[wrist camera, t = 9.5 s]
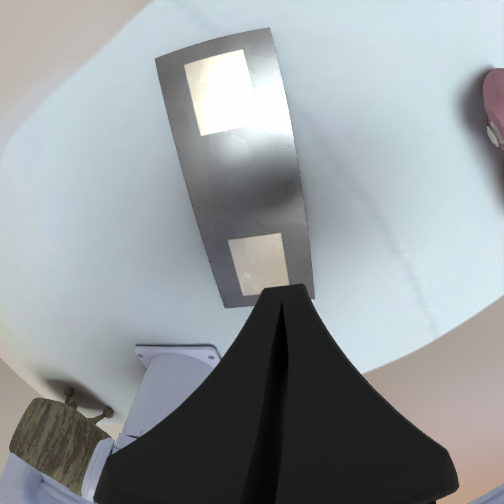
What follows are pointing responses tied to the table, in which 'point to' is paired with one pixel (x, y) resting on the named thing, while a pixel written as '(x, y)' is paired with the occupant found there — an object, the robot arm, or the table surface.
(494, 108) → the video game controller
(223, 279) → the label panel
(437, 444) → the robot arm
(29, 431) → the tabletop clock
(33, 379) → the table surface
